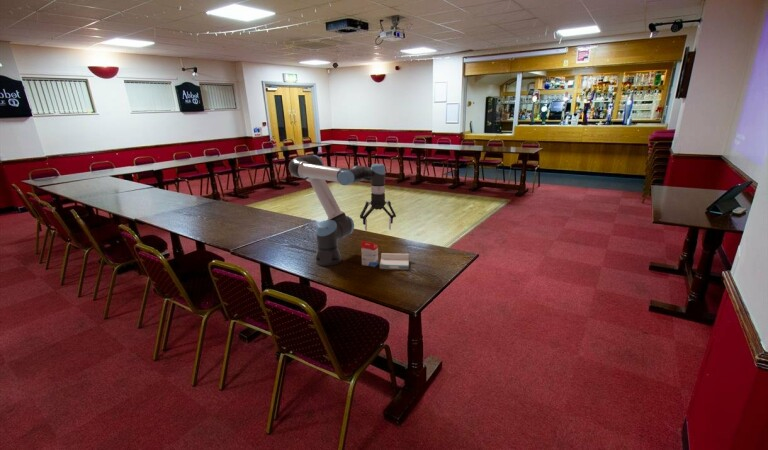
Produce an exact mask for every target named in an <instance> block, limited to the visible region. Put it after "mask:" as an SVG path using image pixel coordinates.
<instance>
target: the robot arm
mask: <svg viewBox="0 0 768 450" xmlns="http://www.w3.org/2000/svg"><path fill="white" fill-rule="evenodd" d="M288 170H289V173H290V174H291V175H292V176H293V177H295V178H299V179H305V181H306V182H309V183H310V185H311V187H312V189H313V191H314V193H315V194H316V196H317V199H318V201H319V202H320V204H321V206H322V208H323V210H324V212H325V214H326V216H327V219H326V220H321V221H320V222H318V223H317V224H316V226H315V228H316V229H315V233H316V245H317V249H316V253H315V259H314V261H315V264H317V265H319V266H324V267H329V266H335V265H338V264H340V263H341V262H342V255H341V252H340V250H339V246H338V243H339V242H338V241H339V240H341V239H343V238H346V237H348V236H350V235H351V234H352V233H353V232H354V230H355V223H354V222H355V221H354V220H353V218H351V216H349V215H346V212H344V211H343V210H342V211H341V208H340V206H339V204H338V203H337V201H336V199H335V197H334V195H333V193H332V190H331V189H330V187H329V184H328V183H327V181H329V182H334V183H339V184H341V186H349V185H352V184H355V183H359V182H362V181H367V182H370V184H371V185H370V186H371V188H370V189H371V190H370V192H371V194H370V195H371V197H370V198H371V200H370V201H367V200H366V201H364V202H365V204H364V207H363V208H362V210H361V212H360V214H359V218H360V219H362V224H363V225H364V230H365V231H368V219H367V218H368V217H369V215H370V214H371V213H372V212H374V210H375V211H377V210H382V209H383V211H384V212H385V213H386V214H387V216H389V217H388V230H389V231H390V230H392V224H394V218H396V217H397V215H396V212H395V211H394V208H393V206H392V204H391V203H392V202H391V200H387V201H386V194H385V192H386V166H385V165H384V164H383V163H373V164H371V166H370V167H369V166H363V165H354V166H353V167H352V168H349V169H347V168H341V167H334V166H327V165H325V164H324V161H323V160H322V158H321V157H320V156H318V155H317V154H308V155H304V156H303V155H302V156H297V157H294V158H293V159H291V160H290V161H289V163H288ZM370 205H371V206H370ZM385 205H387V206H388V208H389V210H390V211H391V212H390V211H388V209H387V208H386V207H385ZM369 206H370V208H369V209H368V207H369Z"/></svg>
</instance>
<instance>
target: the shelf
mask: <svg viewBox="0 0 768 450" xmlns="http://www.w3.org/2000/svg"><path fill="white" fill-rule="evenodd" d="M409 257H410V254H409V253H391V252H390V253H389V252H388V253H387V252H386V253H385V252H382V253H381V254H380V262H379V270H402V271H403V270H409V269H410V268H409V265H410V263H409V262H410V261H409V259H410V258H409Z"/></svg>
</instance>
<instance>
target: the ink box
mask: <svg viewBox="0 0 768 450" xmlns="http://www.w3.org/2000/svg"><path fill="white" fill-rule="evenodd" d="M360 247H361V250H360V251H361V265H362V266H368V267H373V268H375V267H376V266H378V264H379V245H377V244H375V242H371V241H366V240H361V246H360Z"/></svg>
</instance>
